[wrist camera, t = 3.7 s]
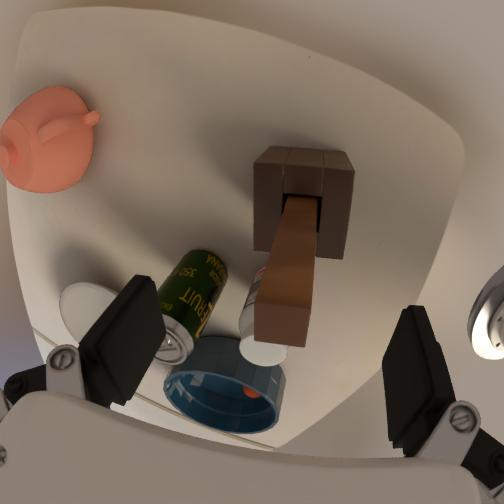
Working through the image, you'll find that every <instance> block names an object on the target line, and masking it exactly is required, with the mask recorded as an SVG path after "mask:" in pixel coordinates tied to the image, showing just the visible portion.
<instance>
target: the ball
mask: <svg viewBox="0 0 504 504" xmlns="http://www.w3.org/2000/svg"><path fill="white" fill-rule="evenodd" d="M243 390H244V392H245V394H246V395H247V396H249V397H251V398H256V397H259V396H261V395H260V394H258V393H257V392H255V391H254V390H252V389H251V388H249V387H247V386H244V385H243Z"/></svg>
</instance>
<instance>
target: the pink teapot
mask: <svg viewBox="0 0 504 504" xmlns="http://www.w3.org/2000/svg"><path fill="white" fill-rule="evenodd" d="M99 120H100V113H99V112H98V111H97V110H93V111H91V112H89V111H88V109H87V107H86V105H85V103H84V102H83V100H82V99H81V98H80V96H79V95H78V94H77V93H76V92H74V91H73V90H71V89H69V88H67V87H64V86H53V87H48V88H45V89H43V90H40V91H38V92H36V93H34V94H33V95H31V96H30V97H28V98H27V99H25V100H24V101H23V102H22V103H21V104H20V105H19V106H18V107H17V108H16V109H15V110H14V111H13V112H12V114H11V115H10V116H9V117H8V119H7V120H6V121H5V123H4V124H3V126H2V128H1V131H0V167H1V169H2V171H3V173H4V175H5V177H6V179H7V180H8V181H9V182H10V183H11V184H12V185H14V186H15V187H18V188H20V189H23V190H27V191H31V192H36V193H54V192H58V191H62V190H65V189H67V188H69V187H72V186H73V185H75V184H76V183H77V182H78V181H79V180H80V179H81V178H82V176H83V175H84V174H85V172H86V170H87V168H88V165H89V163H90V159H91V156H92V151H93V144H94V130H93V125H95V124H97V123H98V122H99Z"/></svg>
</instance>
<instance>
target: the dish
mask: <svg viewBox="0 0 504 504" xmlns="http://www.w3.org/2000/svg"><path fill="white" fill-rule="evenodd" d="M118 294H119V293H118V292H116V291H114V290H112V289H110V288H108V287H105V286H101V285H99V284H96V283H92V282H87V281H79V282H74V283H72V284H70V285H68V286H67V287H66V288H65V289H64V290H63V292H62V294H61V296H60V301H59V307H60V313H61V317H62V320H63V322H64V324H65V326H66V328H67V329H68V331H69V333H70V334H71V335H72V337H73V338H74V339H75V340H76V341H77V342H78V343H79V342H80V341H81V339H82V338H83V337H84V336H85V334H86V333H87V332H88V330H89V329H90V328H91V327H92V325H93V324H94V323H95V322H96V321H97V319H98V318H99V317H100V316H101V314H102V313H103V312H104V311H105V310H106V308H107V307H108V306H109V305H110V304H111V302H112V301H113V300H114V299H115V298H116V296H117V295H118Z"/></svg>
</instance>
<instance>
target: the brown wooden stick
mask: <svg viewBox="0 0 504 504" xmlns="http://www.w3.org/2000/svg"><path fill="white" fill-rule="evenodd" d="M316 222H317V196H311V195H300V194H289V195H288V198H287V201H286V204H285V207H284V211H283V214H282V217H281V220H280V223H279V226H278V230H277V233H276V236H275V239H274V242H273V245H272V248H271V252H270V255H269V258H268V261H267V264H266V267H265V270H264V273H263V276H262V279H261V282H260V285H259V289H258V292H257V295H256V298H255V301H254V341H258V342H265V343H272V344H280V345H287V346H296V347H305V344H306V338H307V332H308V326H309V320H310V314H311V306H312V293H313V279H314V263H315V245H316Z"/></svg>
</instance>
